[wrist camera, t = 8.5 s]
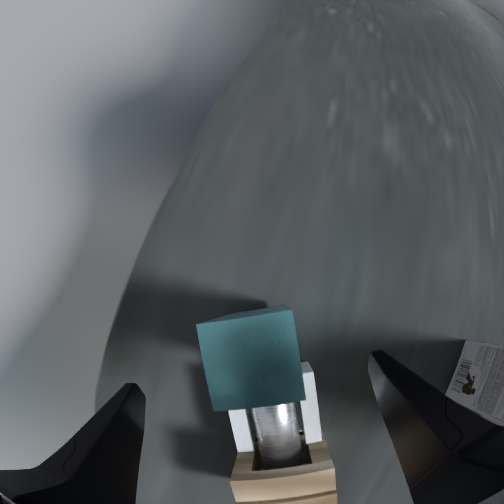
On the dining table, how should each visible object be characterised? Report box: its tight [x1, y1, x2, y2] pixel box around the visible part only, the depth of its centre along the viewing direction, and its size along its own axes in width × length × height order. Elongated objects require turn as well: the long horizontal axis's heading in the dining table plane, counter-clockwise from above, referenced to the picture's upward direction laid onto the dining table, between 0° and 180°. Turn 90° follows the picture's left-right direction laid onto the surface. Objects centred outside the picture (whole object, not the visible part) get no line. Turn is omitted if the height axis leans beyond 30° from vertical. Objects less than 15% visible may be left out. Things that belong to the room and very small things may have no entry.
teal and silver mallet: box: [196, 305, 306, 470], centre depth 14 cm, size 14×4×10 cm, turn 10°
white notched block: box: [228, 361, 322, 452], centre depth 19 cm, size 6×6×3 cm
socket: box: [230, 431, 337, 504], centre depth 16 cm, size 5×7×7 cm
